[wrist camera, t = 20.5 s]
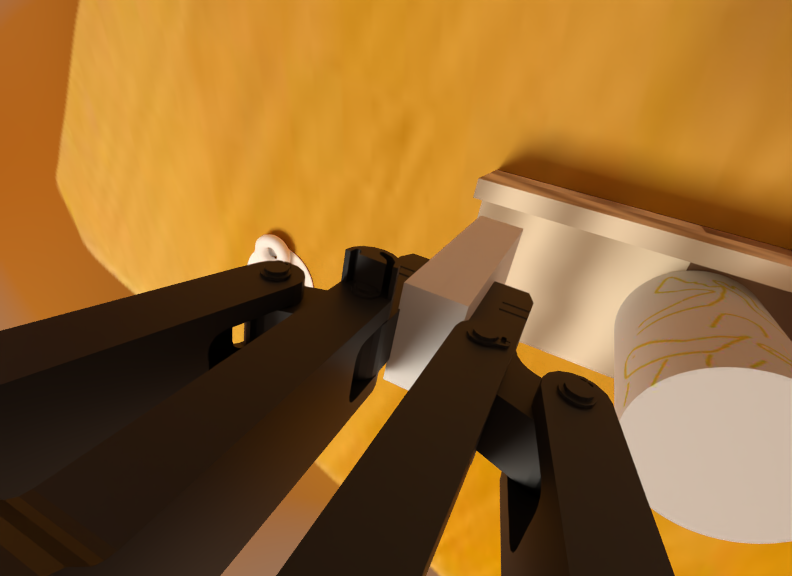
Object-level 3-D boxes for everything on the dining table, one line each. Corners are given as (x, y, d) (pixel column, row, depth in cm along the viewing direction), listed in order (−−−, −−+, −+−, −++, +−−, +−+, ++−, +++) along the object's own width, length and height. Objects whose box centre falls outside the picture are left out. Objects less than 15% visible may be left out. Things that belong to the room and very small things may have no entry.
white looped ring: (268, 219, 42) (237, 229, 38) (332, 271, 41) (306, 285, 37) (240, 286, 46) (210, 300, 43) (298, 334, 45) (272, 353, 42)
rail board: (457, 305, 36) (436, 330, 32) (496, 169, 31) (478, 178, 27) (803, 436, 29) (837, 492, 24) (924, 286, 24) (991, 323, 20)
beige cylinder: (777, 269, 25) (893, 377, 14) (762, 396, 27) (852, 566, 17) (614, 271, 28) (614, 359, 18) (614, 383, 31) (614, 517, 20)
